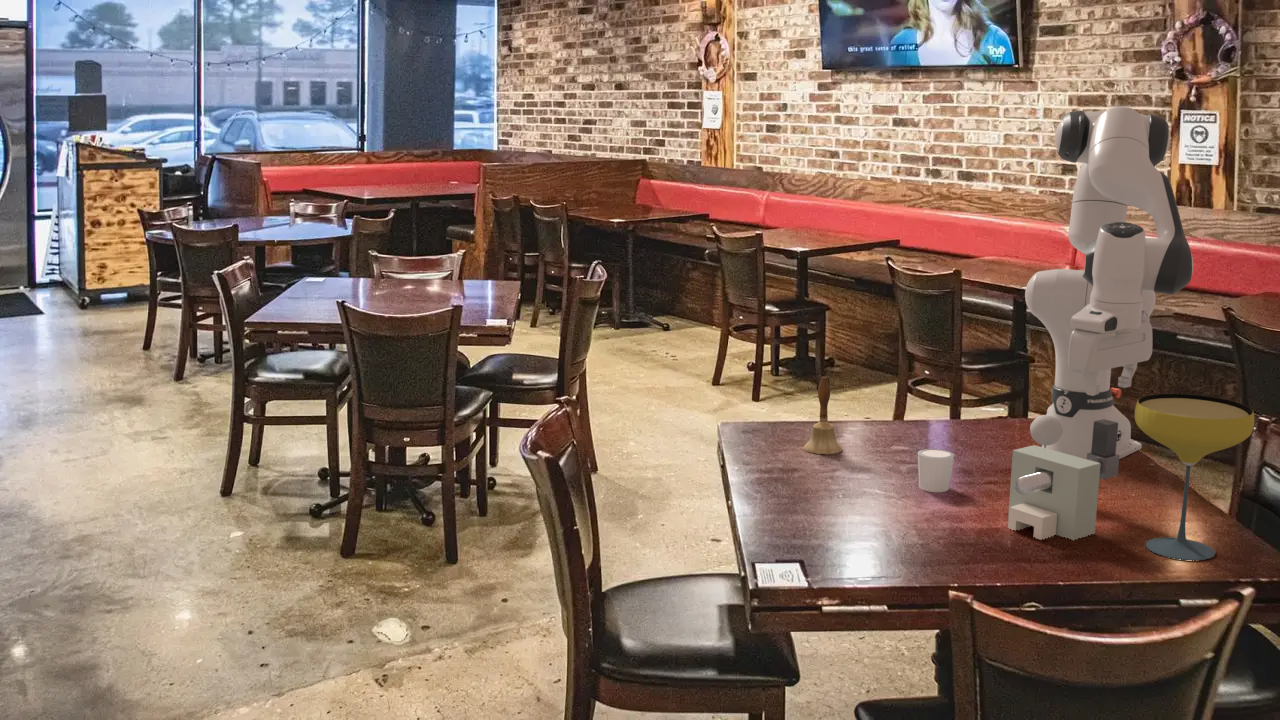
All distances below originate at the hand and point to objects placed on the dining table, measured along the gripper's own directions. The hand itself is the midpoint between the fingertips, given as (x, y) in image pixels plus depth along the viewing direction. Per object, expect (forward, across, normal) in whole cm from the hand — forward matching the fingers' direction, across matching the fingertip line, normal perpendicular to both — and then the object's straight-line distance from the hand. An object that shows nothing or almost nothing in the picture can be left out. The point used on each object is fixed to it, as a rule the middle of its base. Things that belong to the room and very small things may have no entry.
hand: (1108, 390), depth 228 cm
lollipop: (+23, -1, -14) cm, 27 cm away
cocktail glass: (+23, +7, +20) cm, 31 cm away
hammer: (+16, +11, 0) cm, 19 cm away
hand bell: (+24, +14, -59) cm, 65 cm away
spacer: (+22, +20, 0) cm, 30 cm away
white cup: (+23, +15, -27) cm, 38 cm away
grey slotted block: (+22, +15, 0) cm, 27 cm away
